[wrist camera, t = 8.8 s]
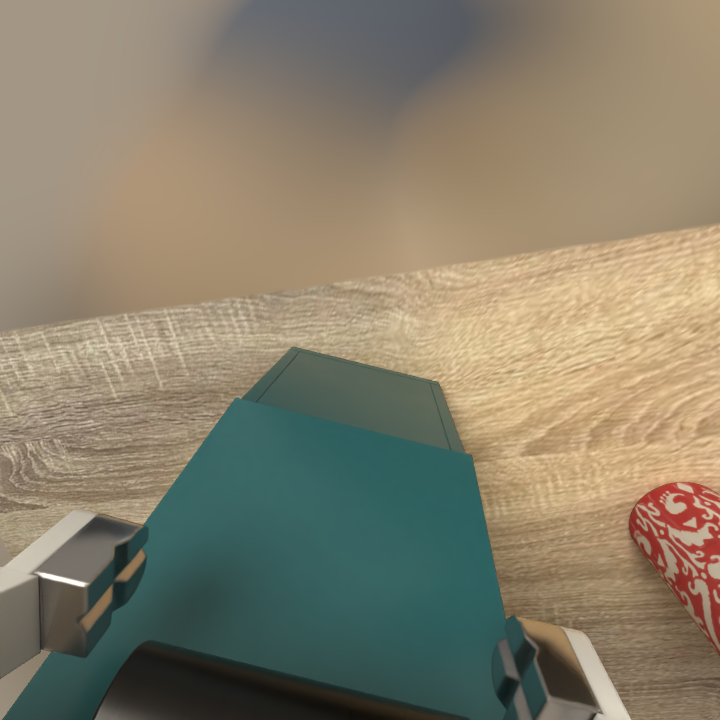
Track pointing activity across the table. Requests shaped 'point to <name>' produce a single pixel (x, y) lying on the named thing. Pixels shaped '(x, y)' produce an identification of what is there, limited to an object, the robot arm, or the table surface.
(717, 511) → the mug
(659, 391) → the table surface
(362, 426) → the teal open-top bin
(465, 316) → the table surface
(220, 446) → the lid
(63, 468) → the table surface
